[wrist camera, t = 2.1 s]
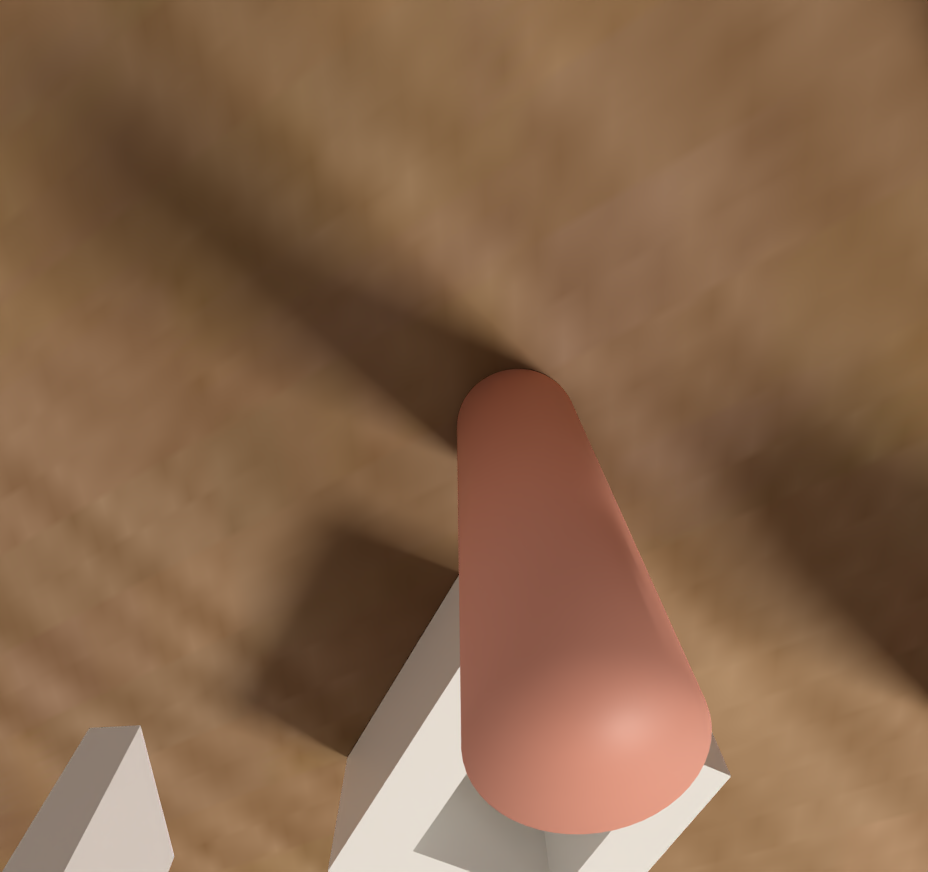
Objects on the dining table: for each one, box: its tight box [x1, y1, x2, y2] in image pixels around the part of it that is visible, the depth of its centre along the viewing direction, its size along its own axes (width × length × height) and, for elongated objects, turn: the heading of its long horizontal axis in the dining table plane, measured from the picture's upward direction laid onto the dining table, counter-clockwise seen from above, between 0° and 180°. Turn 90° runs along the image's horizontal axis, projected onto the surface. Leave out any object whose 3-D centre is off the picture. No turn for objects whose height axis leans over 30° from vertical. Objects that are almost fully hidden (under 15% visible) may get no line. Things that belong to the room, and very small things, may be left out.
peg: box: [457, 369, 712, 834], centre depth 18 cm, size 4×4×14 cm
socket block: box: [328, 576, 731, 872], centre depth 27 cm, size 10×10×5 cm
